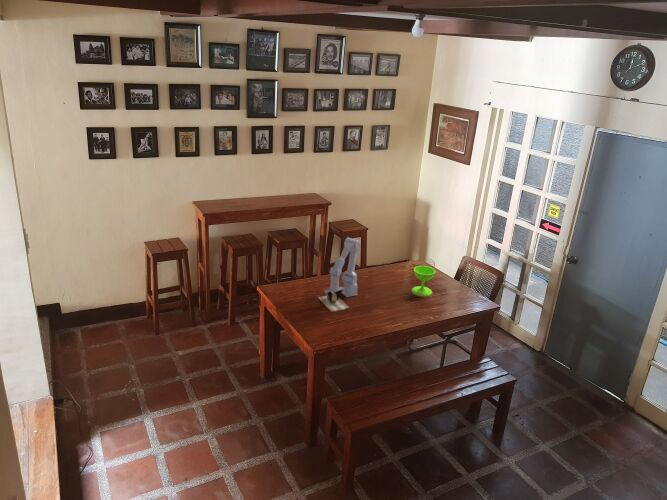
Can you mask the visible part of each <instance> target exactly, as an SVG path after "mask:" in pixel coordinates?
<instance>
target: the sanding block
mask: <svg viewBox="0 0 667 500" xmlns="http://www.w3.org/2000/svg"><path fill="white" fill-rule="evenodd" d="M331 293H332V294H333V295H332V302H336V301H337V296H336V295H335V294H336V292H331ZM325 296H326V297H327V298H328V299H329V296H328V294H327V293H326V295H325ZM329 301H330V300H329Z"/></svg>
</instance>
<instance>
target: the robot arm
mask: <svg viewBox="0 0 667 500" xmlns="http://www.w3.org/2000/svg"><path fill="white" fill-rule="evenodd" d="M343 245H344V246H343V249H342V252H341V253H340V254H341V255H340V257H338V258H337V260H335V263H334V265H333V266H332V267H331V268H330V270H329V275H330V287H329V288H327V289H324V293H325V294H326V295H327V294H328V296H329V300H330V302H332V295H333V294H332V293H331V292H334V293H335V294H336V296H337V300H338V299H339V298H340V296H341V295H343V296H344V297H345V298H350V297H354V296H358V284H357V281H358V277H357V276H358V274H357V273H356V272H355V267H356V264H357V257H358V251H359V250H360V247H361V242H360V240H358V239H355V238H351V237H348V236H347V237H346V238H345V239H344V243H343ZM347 256H349V257H348V258H349V259H348V264H347V269H346V270H345V271H344V272H343V273H342V270H343V267H344V265H345V263H346V261H345V260H346V258H347ZM341 274H343V275H342V277H341V280H342V282H343V285H344V286H340V285H339V283H340V282H339V281H340V276H341Z"/></svg>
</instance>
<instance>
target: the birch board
mask: <svg viewBox="0 0 667 500" xmlns="http://www.w3.org/2000/svg"><path fill="white" fill-rule="evenodd" d="M335 295H336V293H335ZM326 296H327V295H323V296H318V297H317V299H318V300H319V302H321V304H322V305H324V306H325V308H326V309H327V310H328V311H330V313H335V312H339V311H344V310H349V309H350V307H349V305H347V304H346V303H345V302H344V301H343V300H342V299H341V298H340V297H339V299H338V300H337V301H336V302H330V301H329V299H328V298H327V297H326Z"/></svg>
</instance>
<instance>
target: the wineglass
mask: <svg viewBox="0 0 667 500" xmlns="http://www.w3.org/2000/svg"><path fill="white" fill-rule="evenodd" d="M413 272H414V275H415V277H416V279H418V280H419V281H421V285H420V286H414V287H412V288H411V290H410V291H411V293H412V294H413V295H415V296H418V297H424V298H425V297H430V296H432V295H433V290H432V289H430V288H429V287H427V286H425V282H427V281H430V280H432V279H433V278H434V276H435V274H436V270H435V269H434V268H433V267H431V266H427V265H417V266H415V267H414V268H413Z"/></svg>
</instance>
